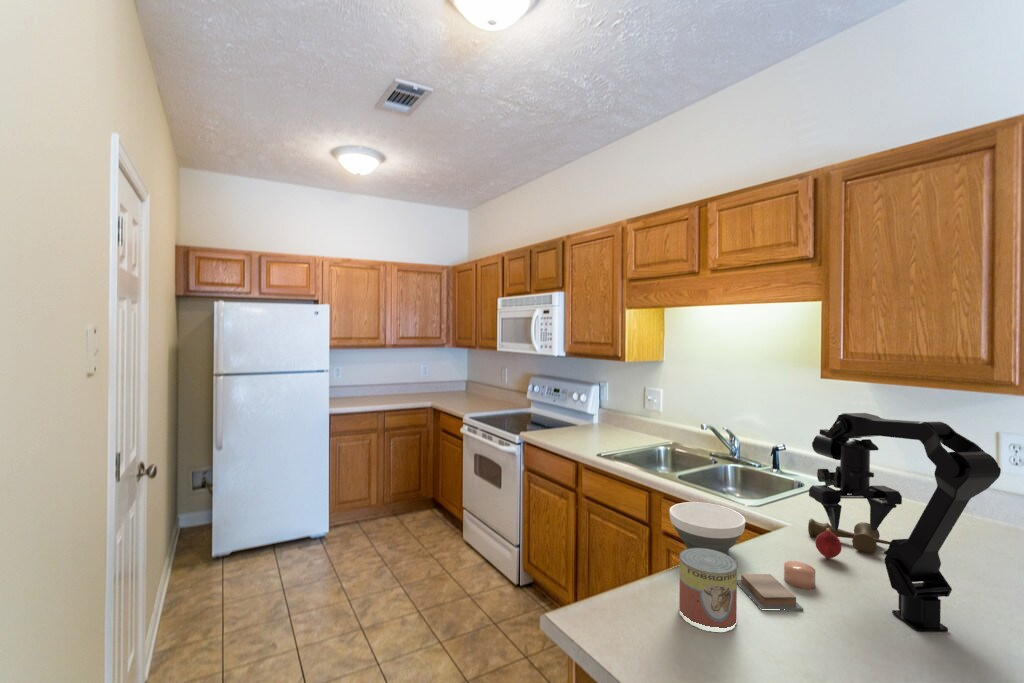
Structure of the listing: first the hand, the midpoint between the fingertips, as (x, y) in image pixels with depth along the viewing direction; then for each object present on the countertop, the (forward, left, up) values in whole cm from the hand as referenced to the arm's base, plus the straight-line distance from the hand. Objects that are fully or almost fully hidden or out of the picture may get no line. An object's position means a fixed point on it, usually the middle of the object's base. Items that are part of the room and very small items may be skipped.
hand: (854, 530), depth 114 cm
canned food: (-14, +41, -13) cm, 45 cm away
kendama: (+21, -14, -13) cm, 29 cm away
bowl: (+18, +28, -13) cm, 36 cm away
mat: (-6, +24, -12) cm, 28 cm away
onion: (+12, -2, -13) cm, 18 cm away
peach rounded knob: (0, +13, -12) cm, 18 cm away
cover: (-6, +24, -12) cm, 27 cm away
